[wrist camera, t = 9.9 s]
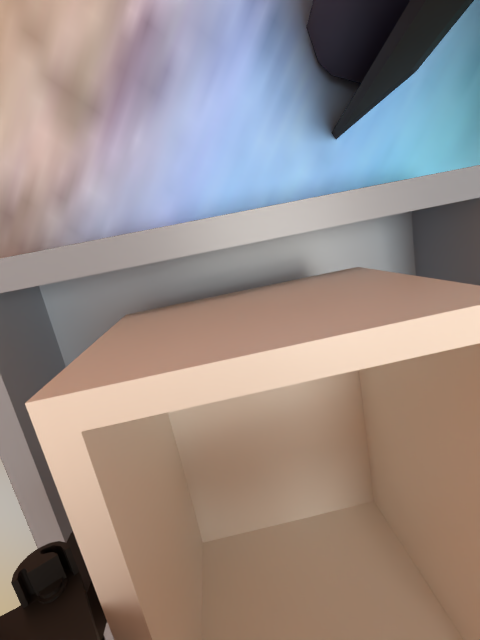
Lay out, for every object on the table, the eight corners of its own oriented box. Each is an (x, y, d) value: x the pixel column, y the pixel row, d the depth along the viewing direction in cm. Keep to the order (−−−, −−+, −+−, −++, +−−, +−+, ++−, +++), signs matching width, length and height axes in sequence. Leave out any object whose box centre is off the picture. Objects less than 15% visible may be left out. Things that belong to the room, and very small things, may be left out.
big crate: (437, 465, 23) (515, 539, 17) (113, 542, 22) (79, 649, 16) (419, 185, 19) (513, 158, 13) (17, 264, 18) (-75, 273, 12)
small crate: (382, 498, 17) (526, 707, 10) (190, 545, 17) (176, 804, 9) (357, 266, 14) (531, 293, 7) (125, 314, 14) (24, 402, 6)
